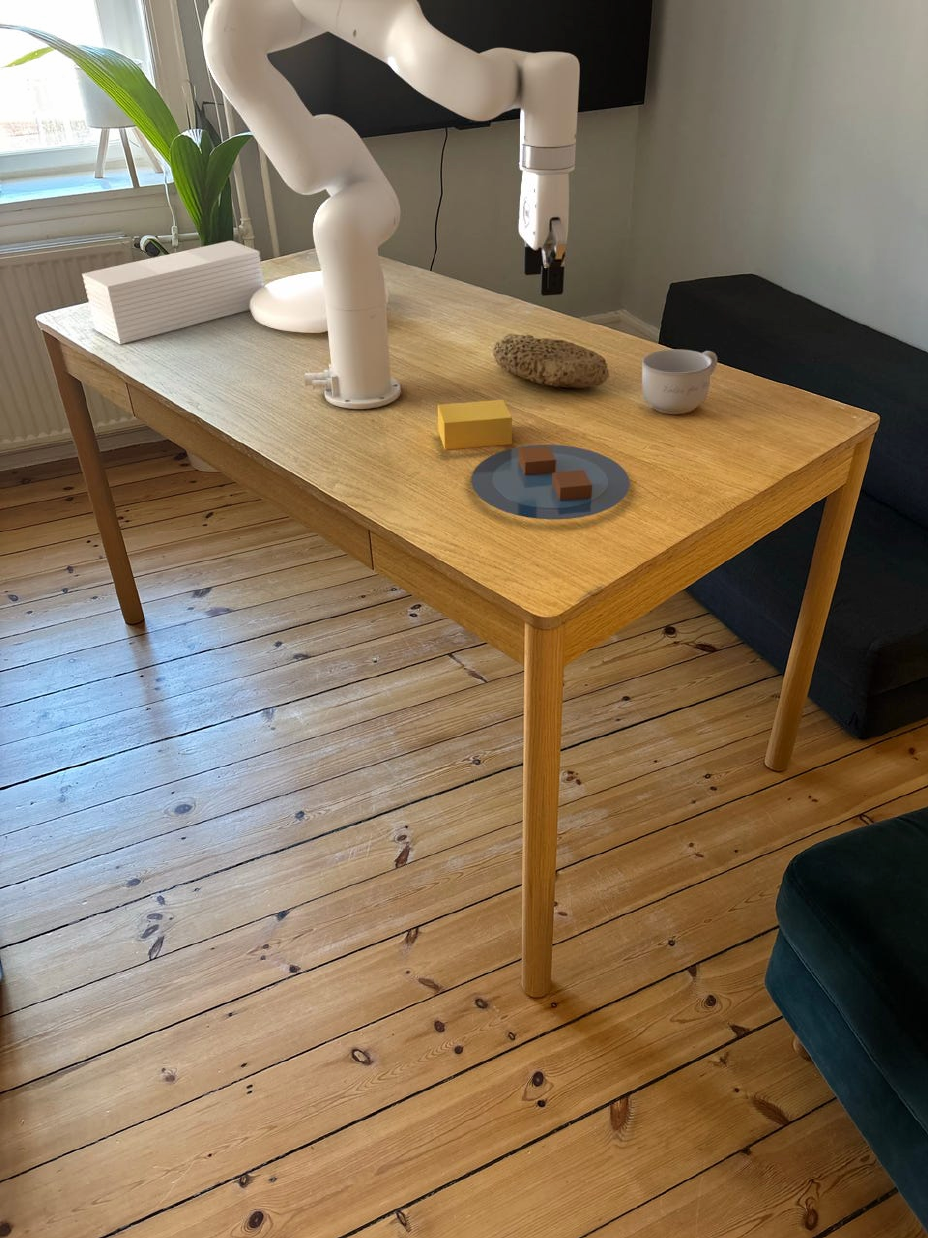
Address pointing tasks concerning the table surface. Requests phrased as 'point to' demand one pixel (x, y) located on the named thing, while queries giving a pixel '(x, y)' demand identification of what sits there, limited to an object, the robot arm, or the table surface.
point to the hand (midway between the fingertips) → (542, 283)
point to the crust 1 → (536, 460)
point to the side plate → (549, 484)
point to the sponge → (550, 361)
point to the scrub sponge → (474, 424)
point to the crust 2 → (571, 485)
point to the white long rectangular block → (173, 290)
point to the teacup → (677, 379)
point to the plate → (293, 304)
